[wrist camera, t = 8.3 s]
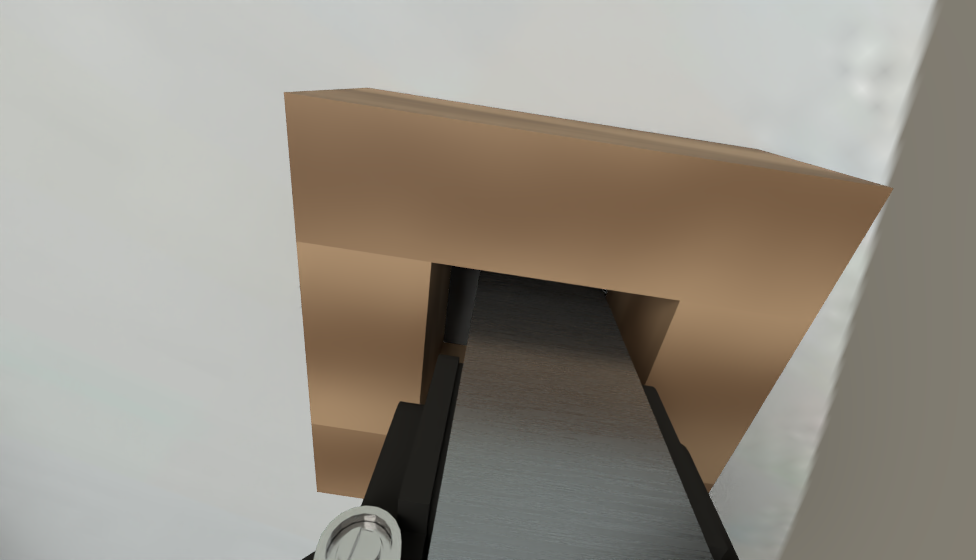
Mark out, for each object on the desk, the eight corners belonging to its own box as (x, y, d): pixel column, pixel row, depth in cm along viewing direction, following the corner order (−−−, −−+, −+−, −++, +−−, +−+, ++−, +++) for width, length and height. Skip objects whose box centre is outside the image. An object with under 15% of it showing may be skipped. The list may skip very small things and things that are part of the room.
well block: (636, 430, 20) (676, 545, 15) (366, 388, 20) (317, 491, 15) (758, 149, 14) (893, 188, 9) (367, 87, 14) (283, 92, 9)
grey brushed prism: (570, 366, 16) (726, 1196, 4) (469, 351, 16) (334, 1142, 4) (596, 276, 14) (1020, 1310, 2) (482, 258, 14) (307, 1213, 2)
